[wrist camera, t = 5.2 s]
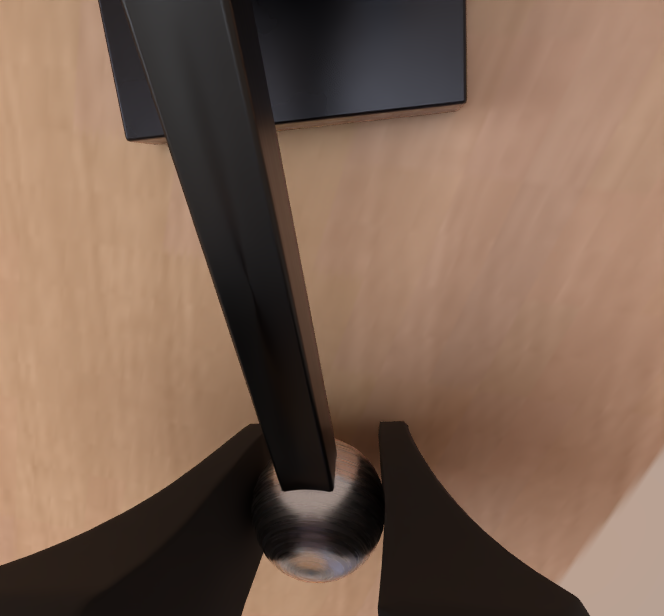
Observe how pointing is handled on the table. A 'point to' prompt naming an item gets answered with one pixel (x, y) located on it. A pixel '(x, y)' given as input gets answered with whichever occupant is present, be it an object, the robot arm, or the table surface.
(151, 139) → the black pivot stand
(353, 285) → the table surface
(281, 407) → the lever
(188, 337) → the table surface
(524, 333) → the table surface
